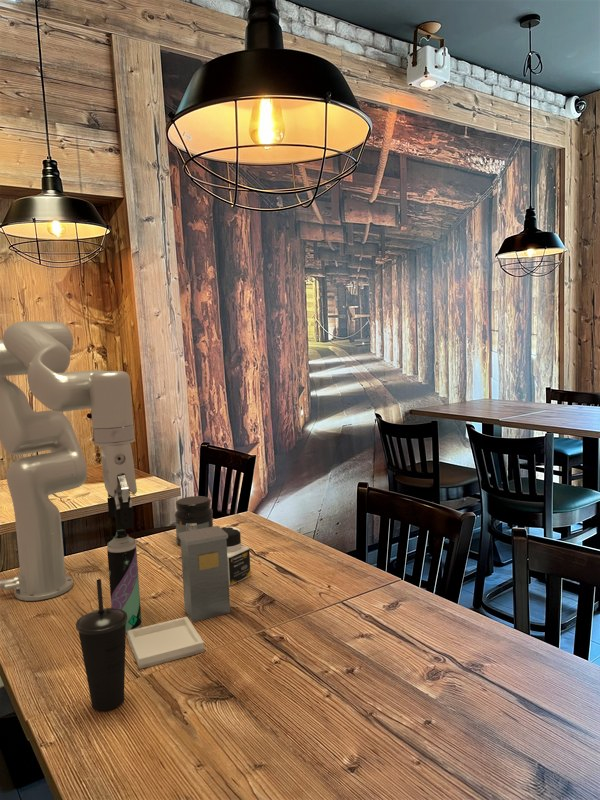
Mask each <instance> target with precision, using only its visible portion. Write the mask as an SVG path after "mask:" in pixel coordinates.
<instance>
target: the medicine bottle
mask: <svg viewBox="0 0 600 800" xmlns="http://www.w3.org/2000/svg"><path fill="white" fill-rule="evenodd" d="M220 528H221V529H222V530H224V531H225V532H226V533H227V534H228V538H226V541H227V559H228V578H229V587H232V586H233V585H235V584H237V582H238V583H239V582H241V581H243V580H245V579H247V578H250V577H251V575H252V572H251V555H250V553H251V551H250V547H248V546H244V545H242V533H241V529H240V528H238V527H234V526H223V527H220Z"/></svg>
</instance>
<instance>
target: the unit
mask: <svg viewBox="0 0 600 800" xmlns="http://www.w3.org/2000/svg"><path fill="white" fill-rule="evenodd" d="M221 528H222V527H220V526H219V525H215V526H214V525H213V527H208V528H202V529H197V530H191V531H186V532H180V533H178V537H179V538H180V540H181V545H180V553H181V554H180V555H181V569H182V585H183V586H182V587H183V605H184V612H185V613H186V614H187V617H188V619H189V620H190V622H191V623H196V622H200V621H204V620H208V619H211V618H217V617H219V616H224V615H228V614H231V603H230V601H231V599H230V598H231V597H230V586H229V578H228V559H227V541H226V538H228V534H227V533H226V532H225V531H224V530H222V529H221Z"/></svg>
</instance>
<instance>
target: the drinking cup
mask: <svg viewBox="0 0 600 800" xmlns="http://www.w3.org/2000/svg"><path fill="white" fill-rule="evenodd" d="M102 585H103V584H102V579H101V578H98V579H96V589H97V592H96V593H97V604H98V609H95V610H93V611H90V612H88V613H86V614H84V615H82V616H81V617H79V618H78V619H77V621H76V623H75V629H76V631H77V632H78V636H79V641H80V642H79V643H80V647H81V653H82V657H83V662H84V670H85V673H86V681H87V685H88V686H87V687H88V690H89V695H90V702H91V706H92V709H93V710H94V711H97V712H110V711H112V710H115V709H117V708H119V707H120V706H121V705H122V704H124V701H125V684H126V682H125V680H126V676H125V675H126V673H125V672H126V635H127V634H126V621H127V619H128V616H127V613H126V612H125V611H123V610H120V609H113V608H109V607H105V608H104V601H103V599H104V598H103V588H102Z"/></svg>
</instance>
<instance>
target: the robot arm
mask: <svg viewBox="0 0 600 800" xmlns="http://www.w3.org/2000/svg"><path fill="white" fill-rule="evenodd" d="M73 347H74V336H73V334H72V332H71V330H70V328H68V326H67V325H65V324H64V323H62V322H60V321H51V320H50V321H36V320H34V321H33V320H29V321H28V320H27V321H25V320H24V321H18V322H15V323H12V324H11V325H9V326H7V328H6V329H5V330H4V332H3V334H2V339H0V444H1V445H2V449H4V451H5V452H6V453H7V454H9V455H13V456H21V455H29V454H33V453H38V452H45V451H50V452H48V453H46V452H45V453H41V454H35V455H29V456H26V457H22V458H19V459H17V460H15V461H13V462H12V463H11V464H10V465H9V466H8V468H7V471H6V476H5V477H6V482H7V483H6V484H7V486H8V490H9V493H10V496H11V497H10V498H11V500H12V501H11V503H12V506H13V512H14V521H15V531H16V540H17V552H18V562H19V564H18V566H19V571H18V575H14V576H13V577H10V578H3V579H0V590H1V589H4V591H9V590H13V589H14V591H13V593H14V597H15V599H17V600H21V601H25V602H26V601H27V602H29V601H30V602H35V601H43V600H48V599H52V598H55V597H59V596H61V595H63V594H65V593H66V592H68V591H70V590H71V589H72V587H73V586H74V579H73V578H72V577H71V576H69V575H66V567H65V565H66V564H65V554H64V553H65V552H64V542H63V541H64V540H63V529H62V528H63V527H62V517H61V512H60V509H59V508H58V506H57V505H56V504H54V503H53V501H52V500H50V498H49V496H51V495H55V494H59V493H62V492H67V491H70V490H74V489H76V488H77V489H78V488H79V487H82V486H83V485H84V483H86V481H87V478H88V466H87V462H86V460H85V456H84V454H83V451H82V448H81V446H80V443H79V440H78V438H77V436H76V433H75V431H74V428H73V425H72V423H71V421H70V420H69V419H70V418H68V417H67V416H66V415H65V413H63V412H70V411H80V410H90V411H91V421H92V422H91V423H92V435H93V444H94V446H97V447H100V453H101V454H100V456H101V466H102V467H101V468H102V475H103V477H102V478H103V483H104V487H105V490H106V492H107V509H108V511H107V512H108V517H109V518H111V519H112V518H115V526H116V527H115V528H116V530H128V529H133V528H134V527H135V522H134V521H135V517H134V506H133V503H132V497H131V494H133V495H136V493H137V492H138V489H137V488H138V487H137V481H136V471H135V462H134V456H133V449H132V446H131V443H134V442H135V441H136V439H135V437H136V436H135V426H134V415H133V414H134V413H133V401H132V386H131V378H130V375H129V373H127V372H126V371H123V370H113V371H112V370H108V371H107V370H103V369H102V370H100V369H97V370H96V369H95V370H78V371H67V370H68V368H69V366H70V363H71V353H72V351H73ZM22 375H23V376H24V375H25V376H26V375H27V376H26V379H27V383H28V384H27V385H28V387H29V390H30V392H31V394H32V396H33V397H34V398H35V399H36V400H37V401H39V402H40V403H41V404H42V405H44V407H46V408H48V409H49V410H42V411H34V410H33V409H32V407H31V405H30V403H29V400H28V397H27V395H26V394H25V392H24V391H23V389H21V388H20V387H19V386H18V385H17V384H15V383H14V382H13V381H11V380H9V379H8V378H7V377H9V376H22Z"/></svg>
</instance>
